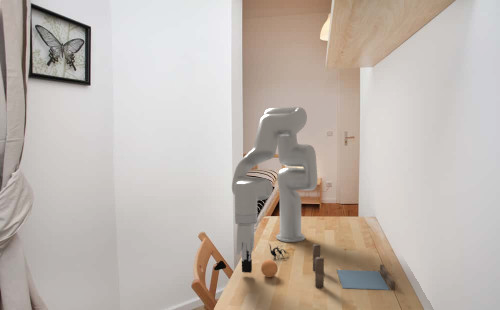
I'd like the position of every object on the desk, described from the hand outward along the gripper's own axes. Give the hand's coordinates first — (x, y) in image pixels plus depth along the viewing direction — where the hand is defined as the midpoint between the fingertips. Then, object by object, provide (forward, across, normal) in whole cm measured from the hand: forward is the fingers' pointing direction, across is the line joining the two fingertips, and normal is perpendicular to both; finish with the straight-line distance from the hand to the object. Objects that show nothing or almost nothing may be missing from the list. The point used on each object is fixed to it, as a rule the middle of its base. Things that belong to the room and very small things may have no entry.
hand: (246, 271), depth 122 cm
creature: (+2, -19, +10) cm, 22 cm away
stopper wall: (+1, -1, +46) cm, 46 cm away
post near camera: (+1, +6, +24) cm, 24 cm away
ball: (-1, 0, +8) cm, 8 cm away
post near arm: (+1, -7, +24) cm, 24 cm away
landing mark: (+1, -1, +38) cm, 38 cm away
